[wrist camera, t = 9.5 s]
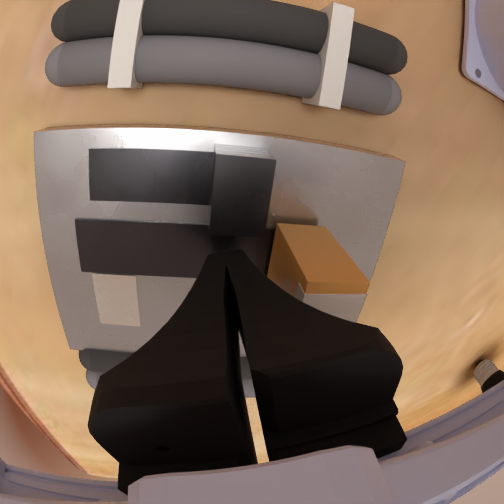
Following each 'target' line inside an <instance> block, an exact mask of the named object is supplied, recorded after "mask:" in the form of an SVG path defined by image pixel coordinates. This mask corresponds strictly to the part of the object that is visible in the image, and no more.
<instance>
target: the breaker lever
mask: <svg viewBox="0 0 504 504" xmlns="http://www.w3.org/2000/svg"><path fill="white" fill-rule="evenodd" d="M267 277H268V278H269V279H270V280H272V281H273V282H274V283H275V284H277V285H278V286H279V287H280V288H282V289H283V290H284V291H286V292H287V293H289V294H290V295H292V296H293V297H295V298H296V299H298V300H300V301H302V302H304V303H306V304H308V305H310V306H312V307H314V308H316V309H318V310H320V311H323V312H325V313H328V314H330V315H333V316H336V317H339V318H342V319H345V320H348V321H351V322H355V323H356V322H357V319H358V317H359V314H360V312H361V309H362V306H363V304H364V301H365V299H366V296H367V294H366V292H367V289H368V286H369V284H370V282H369V281H368V279H367V278H366V277H365V275H364V274H363V273H362V272H361V270H360V269H359V268H358V267H357V265H356V264H355V263H354V261H353V260H352V259H351V258H350V256H349V255H348V254H347V253H346V251H345V250H344V249H343V248H342V246H341V245H340V244H339V243H338V242H337V240H336V239H335V238H334V237H333V235H332V234H331V233H330V232H329V231H328V229H327V228H326V227H324V226H312V225H299V224H286V223H277V225H276V230H275V236H274V242H273V247H272V253H271V258H270V264H269V269H268V275H267Z"/></svg>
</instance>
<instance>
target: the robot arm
mask: <svg viewBox="0 0 504 504" xmlns="http://www.w3.org/2000/svg"><path fill="white" fill-rule="evenodd" d="M475 71H476V74H475ZM462 72H463V74H464V76H465V77H467V78H468V79H470V80H471V81H473V82H475V83H476V84H478V85H480V86H481V87H483V88H485V89H486V90H488V91H489V92H491V93H492V94H494V95H495V96H497V97H498V98H500V99H501V100H503V101H504V0H465V30H464V46H463V57H462ZM239 333H240V336H241V340H242V343H243V346H244V350H245V353H246V356H247V360H248V363H249V367H250V372H251V377H252V382H253V387H254V392H255V397H256V401H257V406H258V411H259V416H260V420H261V425H262V430H263V435H264V440H265V445H266V449H267V454H268V458H269V462H266V463H260V464H258V462H257V457H256V452H255V447H254V442H253V437H252V432H251V427H250V421H249V416H248V410H247V405H246V399H245V394H244V388H243V382H242V374H241V360H240V343H239ZM402 371H403V365H402V361H401V358H400V357H399V355H398V354H397V352H396V350H395V349H394V347H393V346H392V345H391V343H390V342H389V341H388V339H387V338H386V337H385V336H384V335H383V334H382V333H381V331H380V330H379V329H378V328H376V327H372V326H367V325H363V324H359V323H355V322H351V321H348V320H345V319H342V318H339V317H336V316H333V315H330V314H328V313H325V312H323V311H320V310H318V309H316V308H314V307H312V306H310V305H308V304H306V303H304V302H302V301H300V300H298V299H296V298H295V297H293V296H292V295H290V294H289V293H287V292H286V291H284V290H283V289H282V288H280V287H279V286H278V285H277V284H275V283H274V282H273V281H272V280H270V279H269V278H268V277H267V276H266V275H265V274H264V273H263V272H262V271H261V270H260V269H259V268H258V267H257V266H256V265H255V264H254V263H253V262H252V261H251V260H250V259H249V257H248V256H247V255H246V253H245V252H244V251H243V250H242V249H237V250H231V251H226V252H220V253H214V254H209V255H208V256H207V257H206V259H205V261H204V264H203V266H202V268H201V270H200V273H199V275H198V277H197V278H196V280H195V282H194V284H193V286H192V288H191V289H190V291H189V292H188V294H187V296H186V297H185V299H184V300H183V302H182V303H181V305H180V306H179V308H178V309H177V310H176V312H175V313H174V314H173V316H172V317H171V318H170V319H169V320H168V322H167V323H166V324H165V325H164V326H163V327H162V328H161V329H160V330H159V331H158V332H157V333H156V334H155V335H154V336H153V337H152V338H151V339H150V340H149V341H148V342H146V343H145V344H144V345H143V346H142V347H141V348H139V349H138V350H137V351H136V352H134V353H133V354H132V355H131V356H129V357H128V358H127V359H125V360H124V361H122V362H121V363H119V364H118V365H116V366H115V367H113V368H112V369H110V370H109V371H107V372H106V373H104V374H102V375H101V376H100V377H99V380H98V383H97V386H96V389H95V392H94V396H93V401H92V406H91V411H90V416H89V421H88V428H89V432H90V434H91V435H92V436H93V438H94V439H95V440H96V441H97V442H98V443H99V444H100V445H101V446H102V447H103V448H104V449H105V450H106V451H107V452H108V453H109V454H110V455H111V456H112V457H114V458H115V459H116V460H117V461H118V462H119V473H118V482H114V481H100V480H91V479H82V478H74V477H66V476H60V475H54V474H49V473H44V472H39V471H34V470H29V469H24V468H20V467H16V466H12V465H8V464H6V463H5V462H4V461H3V460H2V459H1V458H0V504H449V503H451V502H452V501H454V500H456V499H457V498H459V497H461V496H462V495H464V494H465V493H467V492H469V491H470V490H471V489H473V488H475V487H476V486H477V485H479V484H481V483H482V482H484V481H485V480H486V479H488V478H489V477H491V476H492V475H493V474H495V473H496V472H497V471H499V470H500V469H501V468H502V467H504V380H503V381H501V382H500V383H498V384H497V385H495V386H494V387H492V388H490V389H489V390H487V391H485V392H484V393H482V394H480V395H479V396H477V397H475V398H473V399H472V400H470V401H468V402H466V403H464V404H463V405H461V406H459V407H457V408H455V409H453V410H451V411H449V412H447V413H445V414H443V415H441V416H439V417H437V418H435V419H433V420H431V421H429V422H427V423H425V424H422V425H420V426H418V427H416V428H413V429H411V430H409V431H406V432H404V431H403V429H402V427H401V425H400V423H399V421H398V419H397V417H396V415H397V414H398V408H397V406H396V404H395V402H394V400H393V397H394V395H395V392H396V389H397V387H398V384H399V381H400V379H401V376H402Z"/></svg>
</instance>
